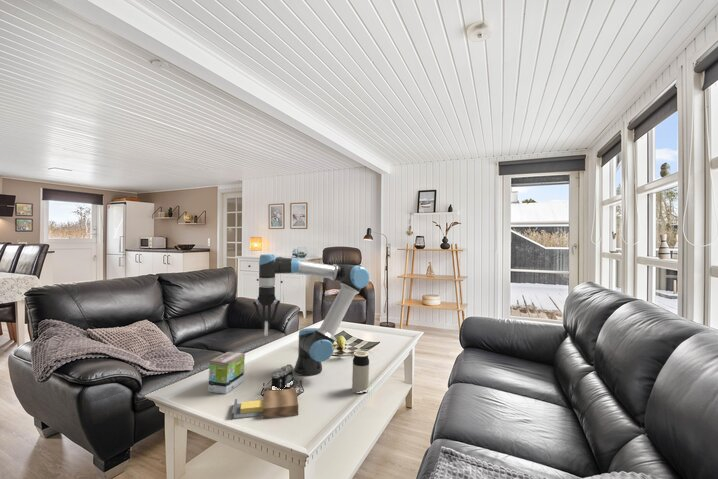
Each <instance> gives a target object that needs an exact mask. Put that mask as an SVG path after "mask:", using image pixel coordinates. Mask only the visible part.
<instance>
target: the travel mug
mask: <svg viewBox="0 0 718 479" xmlns="http://www.w3.org/2000/svg"><path fill="white" fill-rule="evenodd" d="M369 355H370V353H369V352H368V351H365V350H357V351H354V352H353V356H354V357H353V358H352V378H351V380H352V383H351V384H352V385H351V387H352V388H351V390H353V391H355V392H360V391H363V390H366V389H367V388H368V387H369V386H370V385H369V383H370V382H369V381H370V359H369ZM369 388H370V387H369ZM353 391H352V392H353ZM355 392H354V393H355Z"/></svg>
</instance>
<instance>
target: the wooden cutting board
mask: <svg viewBox="0 0 718 479" xmlns="http://www.w3.org/2000/svg"><path fill="white" fill-rule="evenodd" d="M271 390H272V389H271ZM271 390H265V391H263V400H264V403H263V416H262V419H263V420H264V419H272V418H281V417H293V416H299V401H298V393H297V388H284V389H283V390H272V391H271Z"/></svg>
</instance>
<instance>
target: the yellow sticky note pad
mask: <svg viewBox="0 0 718 479" xmlns="http://www.w3.org/2000/svg"><path fill="white" fill-rule="evenodd" d="M263 403H264V399H261V400H249V401H241V409H240V414H243V413H253V412H263Z"/></svg>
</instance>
